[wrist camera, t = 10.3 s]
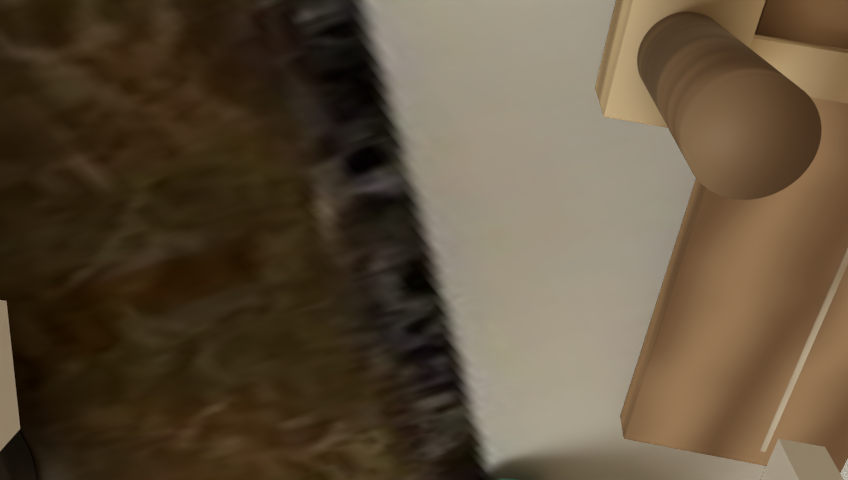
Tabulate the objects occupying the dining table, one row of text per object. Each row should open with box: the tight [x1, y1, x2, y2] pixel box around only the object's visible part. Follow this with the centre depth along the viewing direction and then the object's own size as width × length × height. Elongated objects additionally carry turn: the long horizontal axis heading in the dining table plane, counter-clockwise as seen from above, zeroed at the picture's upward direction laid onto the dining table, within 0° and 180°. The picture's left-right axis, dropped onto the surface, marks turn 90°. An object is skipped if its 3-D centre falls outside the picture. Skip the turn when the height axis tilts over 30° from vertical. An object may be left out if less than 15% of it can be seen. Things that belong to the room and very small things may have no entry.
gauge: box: [595, 0, 848, 200], centre depth 28 cm, size 15×6×16 cm, turn 82°
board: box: [620, 0, 848, 472], centre depth 38 cm, size 12×26×2 cm, turn 172°
